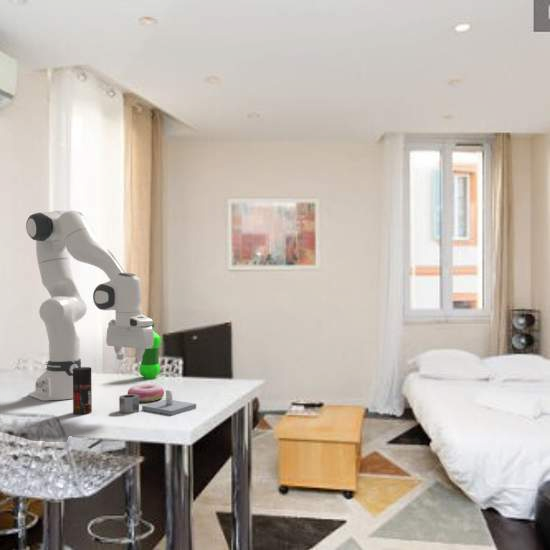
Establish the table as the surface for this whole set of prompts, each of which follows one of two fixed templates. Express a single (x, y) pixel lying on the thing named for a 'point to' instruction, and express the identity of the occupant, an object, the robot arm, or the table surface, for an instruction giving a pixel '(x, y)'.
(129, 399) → the ring
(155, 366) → the plastic bottle
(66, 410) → the table surface
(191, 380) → the table surface
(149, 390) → the donut
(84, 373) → the deodorant
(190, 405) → the shaft block
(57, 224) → the robot arm
